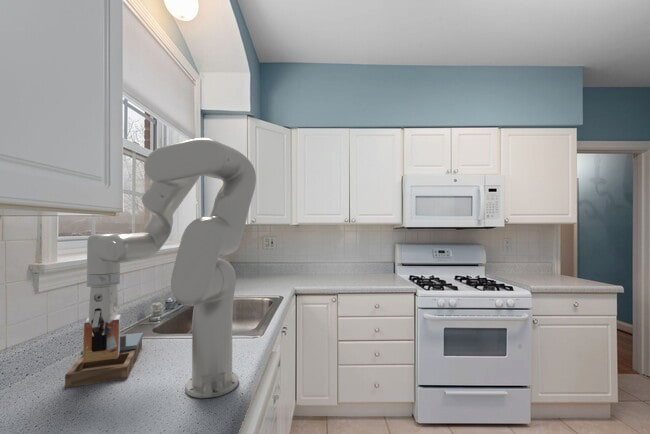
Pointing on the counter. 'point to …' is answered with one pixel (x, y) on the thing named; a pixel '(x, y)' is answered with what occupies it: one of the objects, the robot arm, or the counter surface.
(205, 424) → the counter surface
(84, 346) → the small box
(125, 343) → the cover
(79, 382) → the brown wooden shallow tray
